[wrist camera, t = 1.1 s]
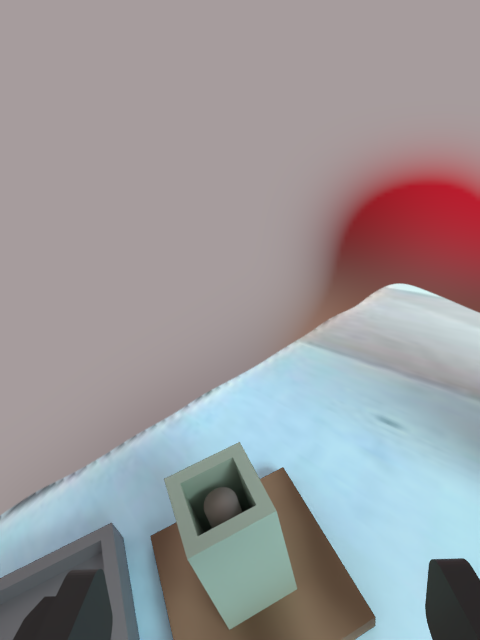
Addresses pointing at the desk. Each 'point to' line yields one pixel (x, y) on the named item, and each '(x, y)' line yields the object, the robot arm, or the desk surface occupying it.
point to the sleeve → (232, 536)
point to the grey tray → (50, 571)
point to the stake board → (287, 613)
